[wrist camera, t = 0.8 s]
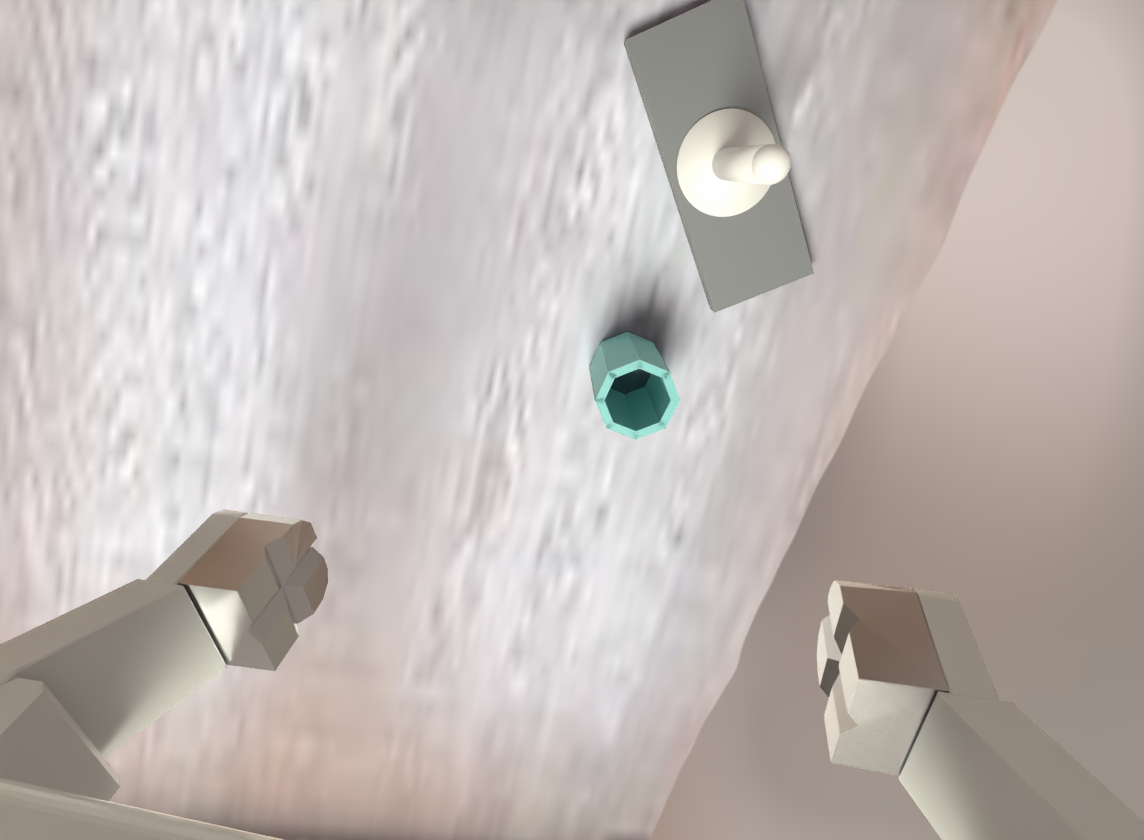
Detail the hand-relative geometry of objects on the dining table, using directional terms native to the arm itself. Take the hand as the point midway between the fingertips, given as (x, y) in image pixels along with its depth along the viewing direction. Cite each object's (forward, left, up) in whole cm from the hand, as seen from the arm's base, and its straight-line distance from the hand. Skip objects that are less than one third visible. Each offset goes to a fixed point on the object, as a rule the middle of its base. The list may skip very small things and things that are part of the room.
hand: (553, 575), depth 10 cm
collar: (+11, +2, -42) cm, 44 cm away
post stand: (-1, +14, -42) cm, 44 cm away
